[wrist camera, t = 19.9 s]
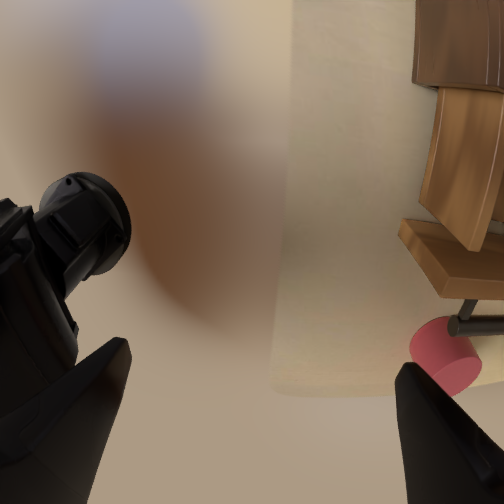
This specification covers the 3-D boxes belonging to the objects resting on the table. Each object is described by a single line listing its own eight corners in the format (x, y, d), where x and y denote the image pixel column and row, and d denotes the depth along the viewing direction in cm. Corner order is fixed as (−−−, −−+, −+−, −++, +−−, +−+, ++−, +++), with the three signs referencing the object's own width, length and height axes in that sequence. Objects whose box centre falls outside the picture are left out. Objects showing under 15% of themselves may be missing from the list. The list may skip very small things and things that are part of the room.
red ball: (418, 367, 26) (432, 407, 21) (401, 337, 24) (417, 382, 20) (465, 339, 24) (484, 377, 20) (454, 305, 22) (478, 346, 18)
